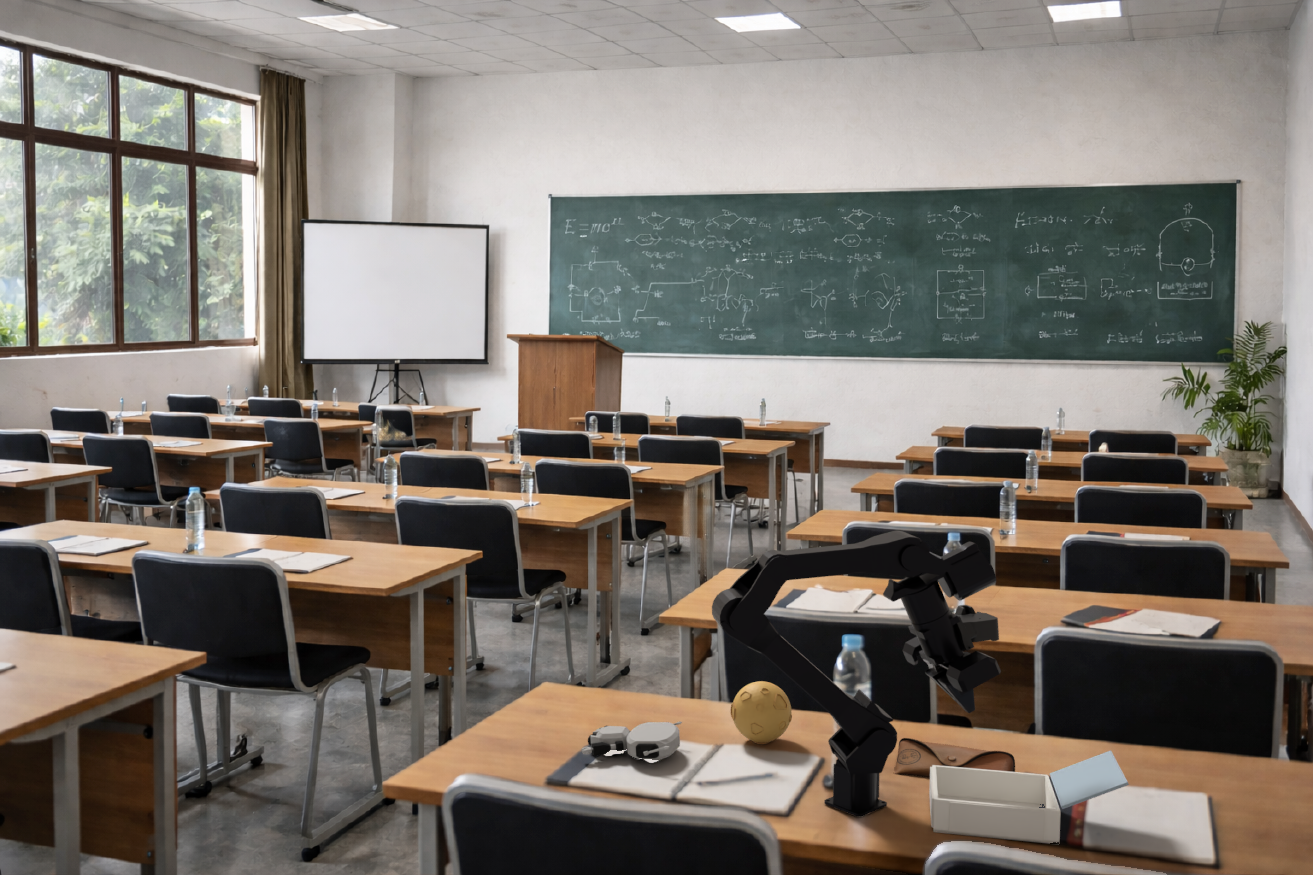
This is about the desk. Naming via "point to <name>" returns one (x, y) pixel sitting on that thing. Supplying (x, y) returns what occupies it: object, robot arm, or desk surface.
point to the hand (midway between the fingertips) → (970, 711)
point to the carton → (993, 804)
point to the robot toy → (636, 740)
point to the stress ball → (761, 712)
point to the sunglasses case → (947, 758)
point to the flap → (1088, 779)
